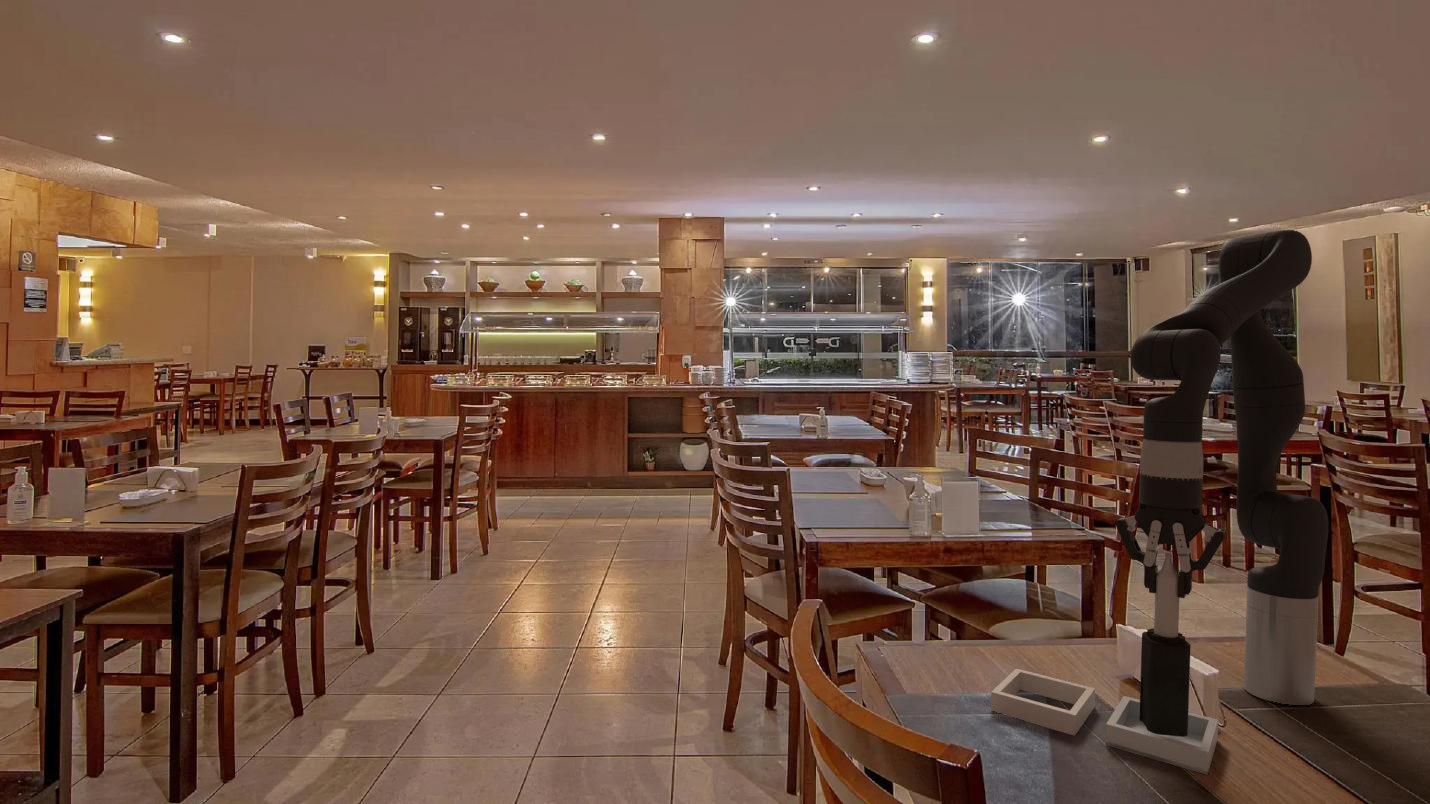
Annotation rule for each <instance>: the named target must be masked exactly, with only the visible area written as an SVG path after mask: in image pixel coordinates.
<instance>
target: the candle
mask: <svg viewBox="0 0 1430 804" xmlns="http://www.w3.org/2000/svg"><path fill="white" fill-rule="evenodd" d="M1164 556H1165V558H1164V561H1163V564H1162V565H1161V569H1160V570H1158V573H1157V574H1156V584H1155V593H1154V620H1153V621H1154V623H1153V624H1154V625H1153V628H1149V629H1147V630H1146V631H1144V632H1141V652H1140V653H1141V654H1140V656H1141V657H1140V660H1141V661H1140V684H1139V685H1140V688H1139V700H1140V714H1139V720H1140V721H1142V722H1143V724H1144V725H1145V726H1146V727H1147V730H1148V731H1150V732H1152V733H1154V734H1159V735H1170V736H1180V737H1185V736H1187V735H1188V712H1189V702H1190V701H1189V700H1190V699H1189V698H1190V676H1191V675H1190V674H1191V673H1190V672H1191V671H1190V670H1191V643H1189V641H1187V640H1186V636H1185V635H1184V634H1183V633H1181V632H1179V625H1180V624H1179V621H1180V598H1179V597H1178V580H1179V573H1177V571H1176V569H1175V567H1174V564H1173V560H1172V557H1173V555H1172V553H1171V552H1166V553H1165V554H1164Z"/></svg>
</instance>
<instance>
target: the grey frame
mask: <svg viewBox="0 0 1430 804" xmlns="http://www.w3.org/2000/svg"><path fill="white" fill-rule="evenodd" d="M1019 691H1023V692H1027V693H1031V694H1034V695H1037V696H1041V697H1045V698H1050V699H1053V700H1057V701H1061V702H1065V703H1068V704H1071V705H1072V707H1071V708H1070V710H1068V709H1064V708H1060V707H1058V706H1053V705H1050V704H1047V703H1042V702H1039V701H1035V700H1032V699H1028V698H1024V697H1021V696H1017V693H1018V692H1019ZM990 695H991V696H990V699H991V701H990V711H991V710H993V711H995V712H994V713H996V712H997V713H998V714H999V713H1002V714H1001V715H1003V714H1006V715H1009V716H1008V717H1010V716H1012V717H1011V718H1013V717H1014V718H1013V719H1016V718H1019V719H1018V720H1020V719H1021V720H1020V721H1023V720H1024V722H1027V723H1031V724H1034V725H1038V726H1040V727H1043V728H1047V729H1050V730H1053V731H1057V732H1061V733H1064V734H1067V735H1071V736H1076V735H1077V733H1078V732H1079V730H1080V729H1081V728H1082V727H1083V724H1084V723H1085V722H1086V721H1087V719H1088V717H1089V716H1090V715H1091V713H1092V712H1093V710H1094V709H1095V708H1096V706H1095V704H1096V703H1095V701H1096V688H1094V687H1090V686H1087V685H1084V684H1083V685H1082V684H1079V683H1075V682H1072V681H1071V682H1070V681H1067V680H1065V679H1064V680H1063V679H1058V678H1054V677H1052V676H1047V675H1044V674H1043V675H1042V674H1040V673H1036V672H1031V671H1028V670H1023V669H1019V668H1015V669H1014V670H1013V671H1012V672H1011V673H1010V674H1009V675H1007V676H1006V678H1004V679H1003V680H1002V681H1001V682H1000V683H999V684H998V685H997V686H996V687H995V688H994V689H993V690H992V691H991V693H990ZM993 711H992V712H993ZM997 713H996V714H997ZM1006 715H1005V716H1006Z"/></svg>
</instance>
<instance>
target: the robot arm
mask: <svg viewBox="0 0 1430 804" xmlns="http://www.w3.org/2000/svg"><path fill="white" fill-rule="evenodd" d="M1312 255H1313V254H1312V248H1311V244H1310V242H1309V240H1308V238H1307V236H1305V234H1303V233H1302V232H1300V231H1298V230H1293V229H1281V230H1276V231H1269V232H1268V231H1267V232H1262V233H1257V234H1251V235H1245V236H1244V235H1243V236H1239V237H1236V238H1235V237H1234V238H1231V239H1228V240H1227V241H1226V242H1225V243H1224V244H1223V245H1222V247H1221V249H1220V253H1219V259H1218V272H1219V279H1220V283H1219V284H1217V285H1215V286H1212V287H1211V288H1208V289H1207V290H1205V291H1204V292H1202V293H1201V294H1199V295H1198V296H1196V297H1195V298H1194V299H1193V300H1192V301H1191V302H1190V303H1188V305H1187V306H1185V308H1184V309H1182V311H1181V312H1179V313H1178V314H1175V315H1173V316H1170V317H1168V318H1166V319H1163V321H1160V322H1158V323H1156V324H1155V325H1153V326H1151V327H1149V328H1147V329H1146V330H1145V331H1144V332H1142V333H1141V334H1140V335H1139V336H1138V337H1137V338H1136V339H1135V342H1134V343H1133V345H1132V348H1131V350H1130V359H1129V360H1130V363H1131V367H1132V369H1133V370H1134V372H1135V373H1136V375H1139V376H1140V377H1142V378H1144V379H1147V380H1152V381H1180V382H1179V385H1178V386H1177V389H1176V390H1175V391H1174V393H1173V394H1171V395H1167V396H1160V397H1155V398H1152V399H1149V400H1148V401H1147V402H1145V404H1144V409H1143V422H1142V424H1143V426H1142V427H1143V428H1142V432H1143V434H1142V438H1143V439H1142V446H1141V451H1140V459H1139V460H1140V461H1139V464H1138V465H1139V467H1138V469H1139V493H1138V494H1139V496H1138V507H1137V510H1136V511H1135V513H1134V515H1131V516H1127V517H1120V518H1118V519H1117V520H1116V521H1115V527H1116V529H1117V531H1118V533H1119V536H1120V539H1121V540H1122V543H1123V545H1124V547H1125V549H1126V552H1127V553H1128V557H1129V558H1130V560H1132V561H1137V562H1140V563H1141V564H1142V565H1143V567H1144V572H1143V585H1144V588H1145V589H1148V592H1149V593H1150V594H1155V584H1156V574H1157V573H1158V572H1159V569H1158V568H1159V565H1157V558H1158V554H1159V550H1160V548H1161V545H1170V546H1173V547H1176V553H1177V556H1178V561H1179V567H1180V569H1179V571H1178V576H1179V580H1178V597H1179V599H1186V596H1189V595H1190V594H1191V592H1192V589H1193V572H1194V571H1200V570H1201V571H1204V570H1205V569H1206V568H1207V567H1208V565H1209V563H1210V562H1211V560H1212V559H1213V557H1214V556H1215V554H1216V553H1217V551H1218V549H1219V547H1220V546H1221V544H1222V543H1223V542H1224V540H1225V538H1226V536H1227V531H1226V530H1225V529H1224V528H1217V527H1215V526H1213V525H1211V524H1210V523H1209V524H1208V523H1207V520H1206V518H1205V516H1204V515H1203V488H1204V486H1203V485H1204V483H1203V482H1204V451H1203V442H1202V441H1203V425H1204V423H1203V417H1204V415H1203V414H1204V410H1205V407H1206V403H1207V400H1208V396H1209V393H1210V391H1211V387H1212V384H1213V382H1214V379H1215V376H1216V374H1217V372H1218V369H1219V365H1220V362H1221V355H1222V351H1221V350H1222V349H1221V346H1222V345H1223V344H1225V342H1226V341H1228V339H1229V343H1230V357H1231V373H1232V374H1231V375H1232V376H1231V377H1232V379H1231V380H1232V381H1231V382H1232V393H1233V394H1232V396H1233V407H1234V414H1235V424H1236V437H1237V439H1236V441H1237V462H1238V463H1237V485H1236V521H1237V525H1238V529H1239V531H1240V533H1241V535H1242V537H1243V538H1245V540H1246V541H1248V542H1250V543H1253V544H1256V545H1260V546H1264V547H1268V548H1272V549H1277V550H1279V555H1278V560H1277V562H1276V563H1275V564H1273V565H1266V566H1265V565H1264V566H1263V565H1262V566H1256V567H1252V568H1250V569H1249V571H1248V573H1247V579H1246V581H1247V582H1246V583H1247V586H1246V587H1247V588H1246V589H1247V590H1246V612H1245V613H1246V615H1245V641H1244V642H1245V644H1244V665H1243V666H1244V667H1243V688H1244V690H1245V691H1246V692H1247V693H1249V694H1250V695H1253V696H1255V697H1257V698H1260V699H1262V700H1264V701H1268V702H1271V701H1273V702H1272V703H1275V702H1277V703H1276V704H1279V703H1281V705H1284V704H1289V705H1288V706H1291V705H1307V704H1312V703H1313V702H1314V703H1315V693H1316V692H1315V691H1316V690H1315V687H1316V671H1317V670H1316V669H1317V668H1316V667H1317V646H1318V645H1317V643H1318V641H1317V640H1318V619H1319V617H1318V616H1319V614H1318V613H1319V591H1320V586H1321V584H1322V583H1321V582H1322V581H1323V578H1324V574H1325V565H1326V556H1327V555H1326V554H1327V545H1328V538H1329V515H1328V513H1327V509H1326V507H1325V506H1324V504H1323V503H1322V502H1321V501H1320V500H1319V499H1316V498H1315V497H1312V496H1307V495H1302V494H1296V493H1295V494H1294V493H1288V492H1283V491H1278V485H1277V467H1278V461H1279V459H1280V456H1281V454H1282V453H1283V450H1284V449H1285V447H1286V446H1287V445H1288V443H1289V441H1290V440H1291V439H1292V438H1293V435H1294V434H1296V431H1297V430H1298V428H1299V427H1300V425H1301V423H1302V421H1303V418H1304V417H1305V412H1306V397H1305V395H1306V394H1305V383H1304V373H1303V370H1302V369H1301V367H1300V365H1299V363H1298V362H1297V360H1296V359H1295V358H1294V357H1293V355H1292V354H1291V353H1290V352H1289V350H1287V348H1286V347H1285V346H1284V345H1283V344H1282V342H1280V341H1279V340H1278V339H1277V338H1276V336H1275V335H1274V334H1273V333H1272V331H1271V330H1270V329H1269V327H1268V326H1267V325H1266V323H1265V321H1264V319H1263V317H1262V315H1261V310H1262V309H1263V308H1264V307H1267V306H1268V305H1269V304H1271V303H1273V302H1274V301H1275V300H1277V299H1279V298H1280V297H1282V296H1284V295H1285V294H1286V293H1288V292H1290V291H1292V290H1293V289H1295V288H1296V287H1298V286H1299V285H1301V284H1302V283H1303V282H1305V279H1307V277H1308V276H1309V273H1310V271H1311V268H1312V262H1313V261H1312V260H1313V256H1312ZM1136 524H1137V525H1138V526H1139V528H1140V529H1141V530H1142V531H1143V533H1144V534H1145V535H1146V537H1147V541H1146V542H1147V543H1146V547H1145V552H1144V551H1143V550H1142V549H1141V547H1140V544H1139V542H1138V540H1137V538H1136V536H1135V533H1134V531H1135V530H1136V529H1137V528H1136ZM1202 531H1203V532H1204V540H1205V541H1206V542H1207V543H1208V544H1207V545H1206V546H1205V548H1204V550H1203V552H1202V553H1201V555H1200V556H1199V558H1195V559H1193V557H1192V547H1191V541H1192V540H1194V538H1195V537H1197V535H1199V533H1200V532H1202ZM1314 703H1313V704H1314ZM1290 704H1291V705H1290ZM1313 704H1312V705H1313Z"/></svg>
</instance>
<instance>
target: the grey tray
mask: <svg viewBox="0 0 1430 804" xmlns="http://www.w3.org/2000/svg"><path fill="white" fill-rule="evenodd" d="M1139 714H1140V699H1137V698H1134V697H1131V696H1126V695H1123V696H1122V697H1121V700H1120V701H1119V702H1118V704H1117V706H1116V708H1115V709H1114V711H1113V712H1112V714H1111V716H1110V717H1109V719H1108V720H1107V722H1106V724H1105V745H1106V746H1108V747H1111V748H1115V749H1119V750H1122V751H1125V752H1129V753H1132V754H1135V755H1139V756H1142V757H1144V758H1145V757H1146V758H1147V759H1148V758H1149V759H1153V760H1156V761H1158V762H1159V761H1160V762H1163V763H1165V764H1169V765H1173V766H1176V767H1179V768H1183V769H1187V770H1189V771H1193V772H1196V773H1200V774H1203V775H1206V776H1208V775H1209V771H1210V768H1211V765H1212V761H1213V758H1214V754H1215V750H1216V746H1217V743H1218V739H1219V736H1218V734H1219V719H1216V718H1212V717H1209V716H1205V715H1201V714H1196V713H1192V712H1189V711H1188V735H1187V736H1185V737H1180V736H1170V735H1159V734H1154V733H1152V732H1150V731H1148V730H1147V727H1146V726H1145V725H1144V724H1143V722H1142V721H1140V720H1139Z"/></svg>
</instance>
